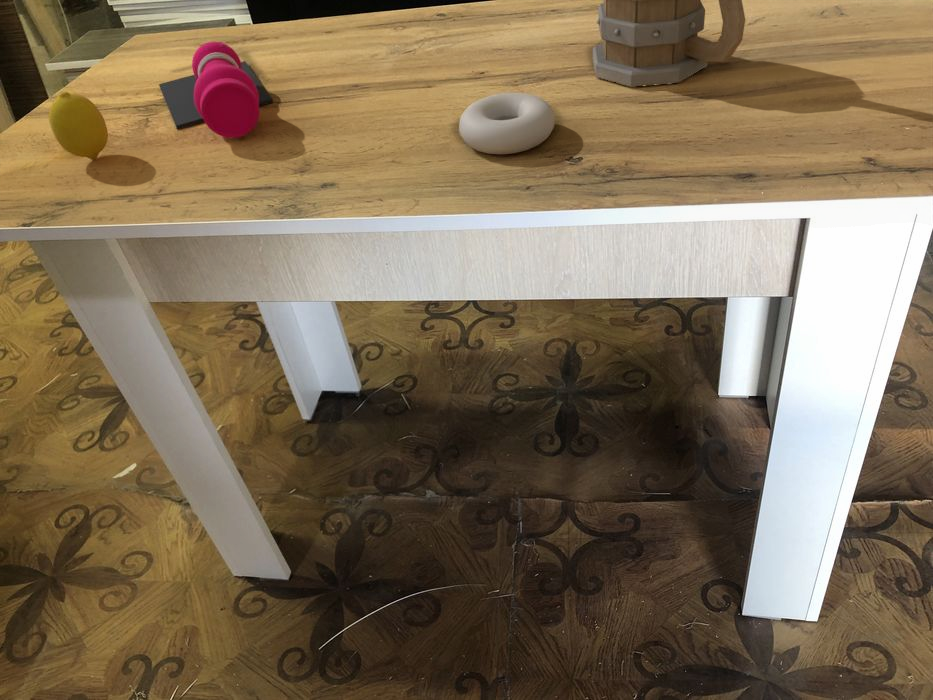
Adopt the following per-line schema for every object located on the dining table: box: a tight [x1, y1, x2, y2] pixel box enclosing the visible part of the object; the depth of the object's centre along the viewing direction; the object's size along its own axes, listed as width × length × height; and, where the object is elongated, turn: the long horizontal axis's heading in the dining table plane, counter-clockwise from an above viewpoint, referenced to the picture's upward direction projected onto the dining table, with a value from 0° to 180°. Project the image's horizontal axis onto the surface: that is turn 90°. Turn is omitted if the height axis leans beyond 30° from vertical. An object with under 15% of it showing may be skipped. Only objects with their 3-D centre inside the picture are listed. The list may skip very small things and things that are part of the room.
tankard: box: [592, 0, 746, 88], centre depth 84 cm, size 20×13×15 cm, turn 42°
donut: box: [458, 91, 556, 155], centre depth 80 cm, size 10×4×10 cm
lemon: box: [48, 91, 109, 161], centre depth 87 cm, size 6×6×8 cm
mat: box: [158, 60, 274, 130], centre depth 100 cm, size 12×16×1 cm
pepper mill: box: [191, 41, 260, 139], centre depth 93 cm, size 7×7×20 cm
